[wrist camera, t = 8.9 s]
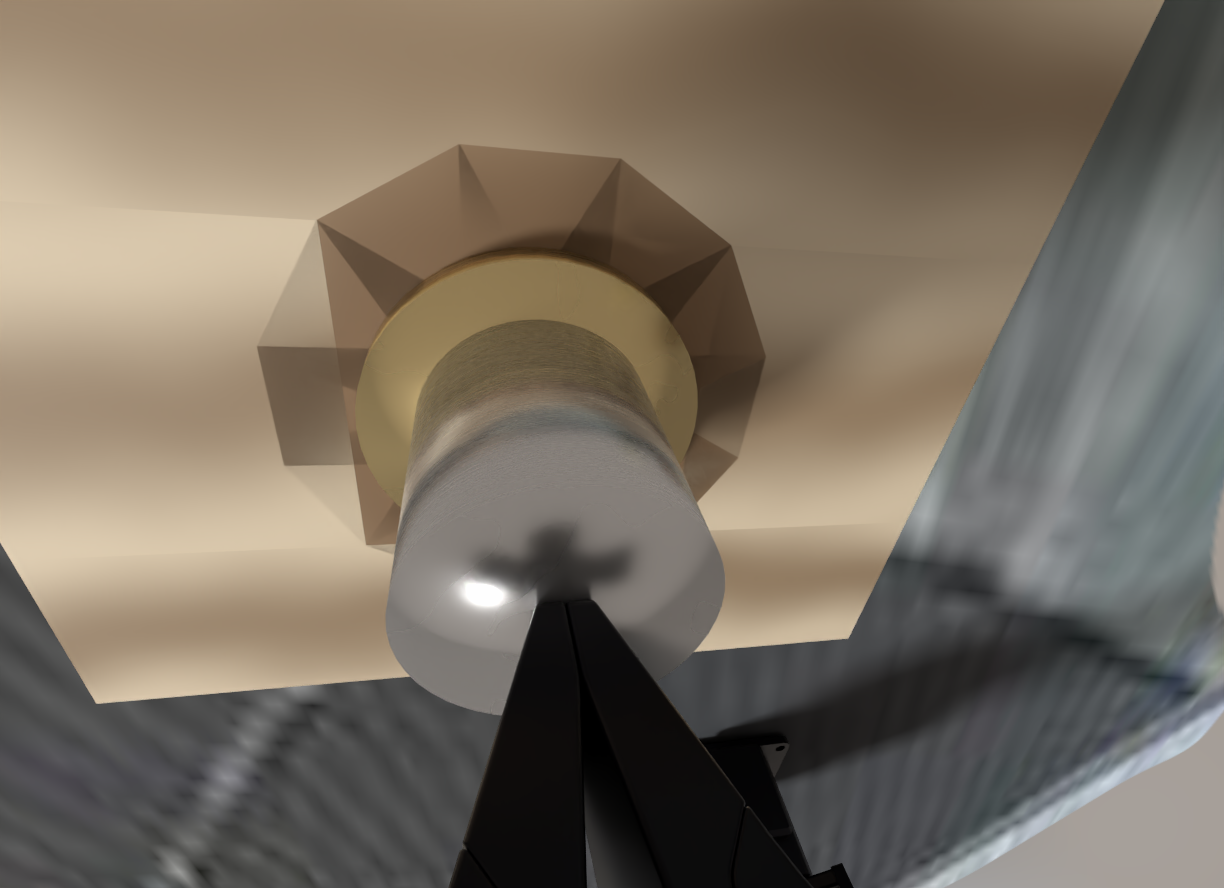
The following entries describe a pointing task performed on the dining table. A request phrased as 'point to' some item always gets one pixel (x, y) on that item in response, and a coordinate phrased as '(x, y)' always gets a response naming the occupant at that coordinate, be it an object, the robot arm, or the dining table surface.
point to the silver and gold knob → (534, 467)
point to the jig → (477, 223)
